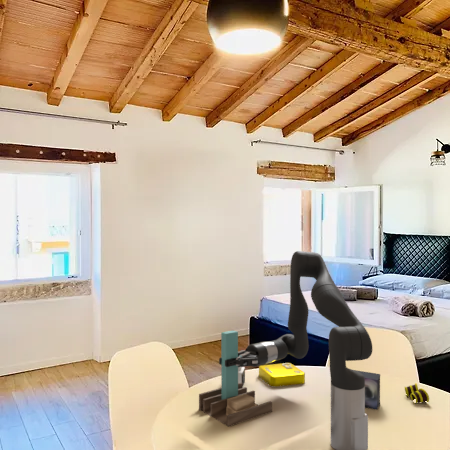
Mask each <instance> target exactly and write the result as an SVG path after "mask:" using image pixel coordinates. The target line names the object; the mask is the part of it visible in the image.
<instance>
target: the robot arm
mask: <svg viewBox="0 0 450 450" xmlns="http://www.w3.org/2000/svg"><path fill="white" fill-rule="evenodd" d="M289 269H290V273H289V274H290V275H289V278H290V282H289V284H290V285H289V288H290V289H289V291H290V292H289V295H290V298H289V299H290V300H289V301H290V302H289V312H288V319H287V328H288V330H289V331H290V332H291V333H286V334H283V335H281V336H280V337H278V338H276V339H274V340H269V341H260V342H256V343H251V344H249V345H247V347H246V348H245V349H244V350H243V349H242V350H240V351H238V357H236V358H232V359H227V360H225V366H226V367H230V366H234V365H235V366H239V365H240V367H254V368H256V367H259V366H261V365H269V364H271V363H273V362H277V361H281V360H283V359H286V357H287V356H288V355H290V356H291V357H294V358H295V359H297V360H298V359H299V360H300V359H303V358H304V357H306V356H307V354H308V351H309V346H310V345H309V338H308V337H309V336H308V328H307V326H308V320H309V306H308V303H307V300H306V299H305V296H304V294H303V292H302V291H303V290H302V287H301V277H302V278H312V279H314V280H315V282H314V284H313V285H312V287H311V292H310V298H311V300H312V303H313V305H314V307H315V309H316V311H317V312H318V313H319V314H320V316H322V317H323V318H324V319H326V320H327V321H329V322H330V323H333V324H334V325H335V327H332V328H331V329H330V331H329V334H328V354H329V355H328V356H329V374H330V375H329V376H330V446H331V448H333V450H368V449H369V448H368V447H369V446H368V445H369V416H368V414H367V413H366V410H365V409H366V408H365V378H364V376H363V375H362V374H361V373H359V372H357V371H358V370H357V371H355V370H356V369H353V368H352V369H351V368H348V367H347V363H346V362H350V361H351V362H352V361H363V360H368V359H369V358H370V357H371V356H372V354H373V343H372V339H371V337H370V334H369V332H368V330H367V329H366V327H365V326H364V325H363V323H361V321H360V320H359V318H357V316H356V315H355V314H354V313H353V310H352V309H351V308H350V307H349V305H348V303H347V301H346V300H345V298H344V296H343V295H342V293H341V291H340V289H339V288H338V286H337V284H335V281H334V280H333V278H332V276H331V274H330V271H329V270H328V268H327V265H326V263H325V261H324V258H323V256H322V255H321V254H320V253H319V252H315V251H314V252H313V251H304V250H303V251H301V250H300V251H299V250H297V251H294V253H292V256H291V259H290V268H289ZM218 364H219V365H222V358H221V357H219V359H218Z"/></svg>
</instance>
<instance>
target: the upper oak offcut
mask: <svg viewBox="0 0 450 450" xmlns="http://www.w3.org/2000/svg"><path fill="white" fill-rule="evenodd" d="M255 403H256V397H255V398H254V397H252V396H249V395H247V394H243V395H239V396H236V397H233V398H229V399H227V407H228V408H230V409H232V410H234V411H236V412H237V411H240V410H244V409H247V408H250V407H253V406H255Z"/></svg>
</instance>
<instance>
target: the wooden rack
mask: <svg viewBox="0 0 450 450" xmlns="http://www.w3.org/2000/svg"><path fill="white" fill-rule="evenodd" d="M255 392H256V391H255V390H250V391H248V387H246V386H245V387H244V385H243V383H242V382H240V383H238V395H237V396H239V395H243V394H247V395H249V396H252V397H254V398H255V399H256V393H255ZM233 397H236V396H233ZM233 397H230V398H233ZM227 399H229V398H227ZM227 399H223V400H222V387H219V388H216V389H212V390H208V391H205V392H201V393H199V394H198V410H199V411H201V412H203V413H205V414H206V415H208V416H209V417H211V418H213V419H215V420H216V421H218V422H219V423H222V424H223V425H225V426H227V427H232V426H234V425H237V424H241V423H244V422H246V421H250V420H253V419H254V418H255V419H256V418H258V417H261V416H264V415H267V414H270V413H272V412H273V401H271V400H270V401H267V402H264V403H261V404H257V403H256V402H255V404H257V406H254V407H251V408H248V409H245V410H242V411H239V412H236V413H233V414H230V415H226V407H227Z"/></svg>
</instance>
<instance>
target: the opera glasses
mask: <svg viewBox="0 0 450 450" xmlns="http://www.w3.org/2000/svg"><path fill="white" fill-rule="evenodd" d="M418 386H419V385H418V383H417V382H415V383H414V384H412V385H408V386H404V392H405V395H406V394H407V396H409V397H410V400H411V401H412V400H414V399H416V404H418V403H417V402H422V403H424V402H425V401H427V402H428V403H429V402H430V395H429V394H428V392H427V390H425V389H424V388H419V387H418ZM407 396H406V397H407Z"/></svg>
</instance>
